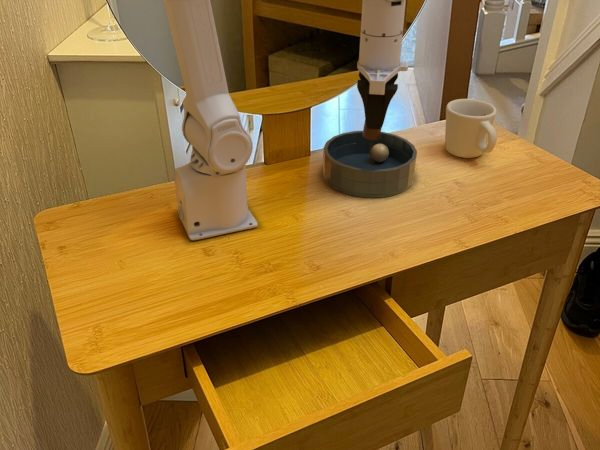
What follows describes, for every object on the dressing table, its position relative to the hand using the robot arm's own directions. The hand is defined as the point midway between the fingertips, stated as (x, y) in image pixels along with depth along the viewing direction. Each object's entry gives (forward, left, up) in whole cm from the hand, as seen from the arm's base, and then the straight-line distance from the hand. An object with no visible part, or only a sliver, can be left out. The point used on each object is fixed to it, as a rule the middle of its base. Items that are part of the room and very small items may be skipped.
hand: (374, 124), depth 92 cm
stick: (0, 0, -2) cm, 2 cm away
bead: (+4, +4, -7) cm, 9 cm away
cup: (+19, +1, -10) cm, 22 cm away
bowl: (0, +1, -9) cm, 9 cm away
